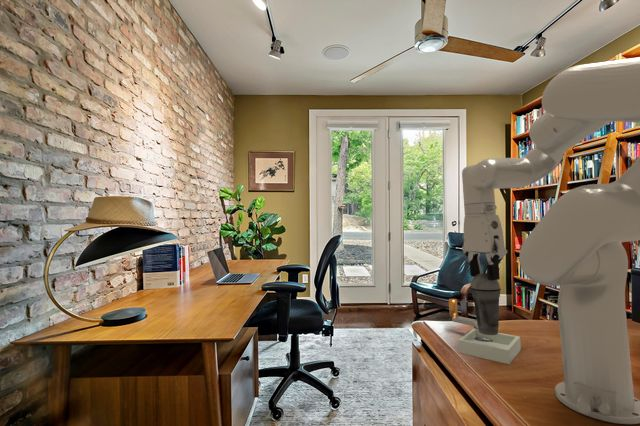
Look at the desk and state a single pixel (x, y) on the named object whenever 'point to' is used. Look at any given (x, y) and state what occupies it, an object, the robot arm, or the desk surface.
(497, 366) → the desk surface
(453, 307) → the crank
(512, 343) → the tray
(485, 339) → the crank base
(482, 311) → the beverage cup
